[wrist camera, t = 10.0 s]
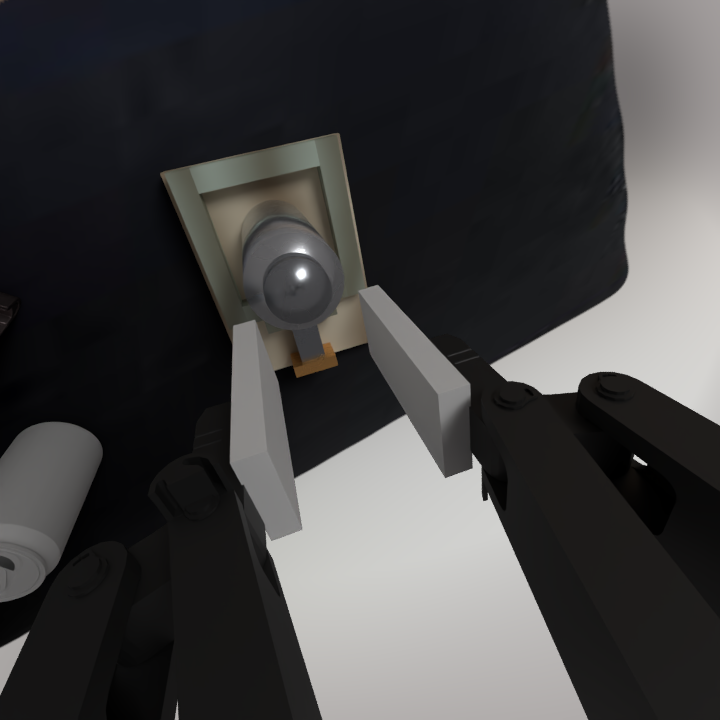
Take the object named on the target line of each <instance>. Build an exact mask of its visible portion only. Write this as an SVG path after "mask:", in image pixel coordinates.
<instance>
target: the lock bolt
mask: <svg viewBox="0 0 720 720" xmlns="http://www.w3.org/2000/svg"><path fill="white" fill-rule="evenodd" d="M292 332H293V335H294V338H295V341H296V344H297V347H298V351H299V352H295V353H292V354H290V355H291V359H292V364H293V368H294V371H295V374H296V377H297V378H298V377H301V376H304V375H308V374H311V373H314V372H317V371H321V370H324V369H327V368H330V367H334V366H337V365H338V362H337V358H336V355H335V353H334V350H333V348H332V346H331V344H330V342H329V343H326V344H322V341H321V337H320V334H319V330H318V326H317V325H315V326H313V327H310V328H306V329H302V330H292Z"/></svg>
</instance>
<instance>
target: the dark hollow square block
mask: <svg viewBox="0 0 720 720" xmlns="http://www.w3.org/2000/svg"><path fill="white" fill-rule="evenodd" d="M20 304H21V299H20V298H18V297H15V296H12V295H9V294H6V293H3V292H0V336H1V335H2V334H3V332H4V331H5V330H6V328H7V327H8V326H9V324H10V323H11V322H12V320H13V319H14V318H15V316H16V314H17V312H18V310H19V308H20Z"/></svg>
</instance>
